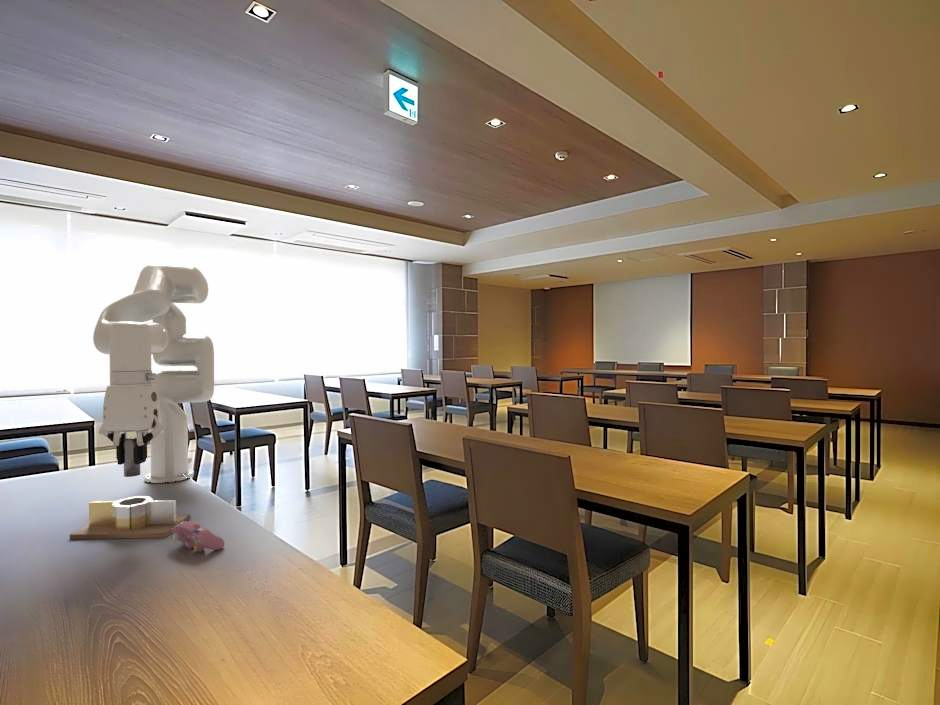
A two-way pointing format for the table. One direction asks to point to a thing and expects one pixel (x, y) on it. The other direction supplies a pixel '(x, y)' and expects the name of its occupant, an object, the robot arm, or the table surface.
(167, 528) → the mounting board
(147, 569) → the table surface
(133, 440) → the hinge pin
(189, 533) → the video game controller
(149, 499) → the hinge
